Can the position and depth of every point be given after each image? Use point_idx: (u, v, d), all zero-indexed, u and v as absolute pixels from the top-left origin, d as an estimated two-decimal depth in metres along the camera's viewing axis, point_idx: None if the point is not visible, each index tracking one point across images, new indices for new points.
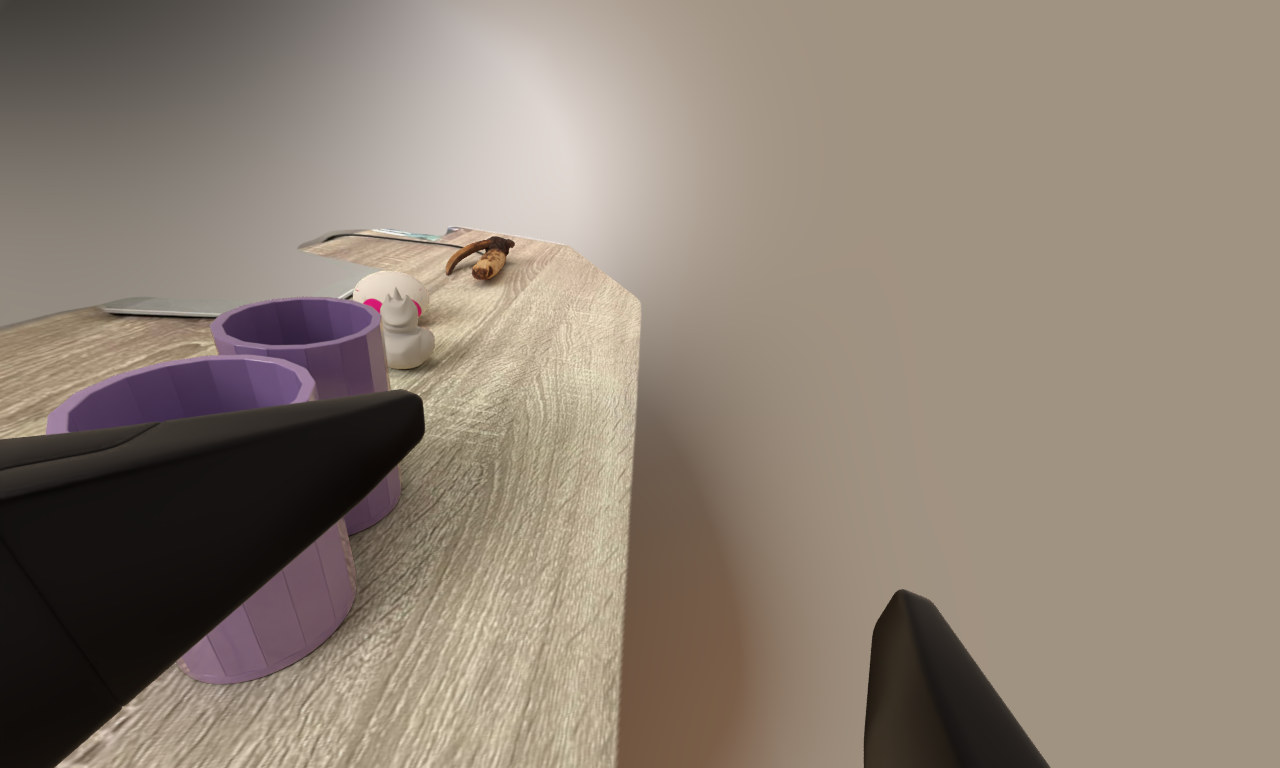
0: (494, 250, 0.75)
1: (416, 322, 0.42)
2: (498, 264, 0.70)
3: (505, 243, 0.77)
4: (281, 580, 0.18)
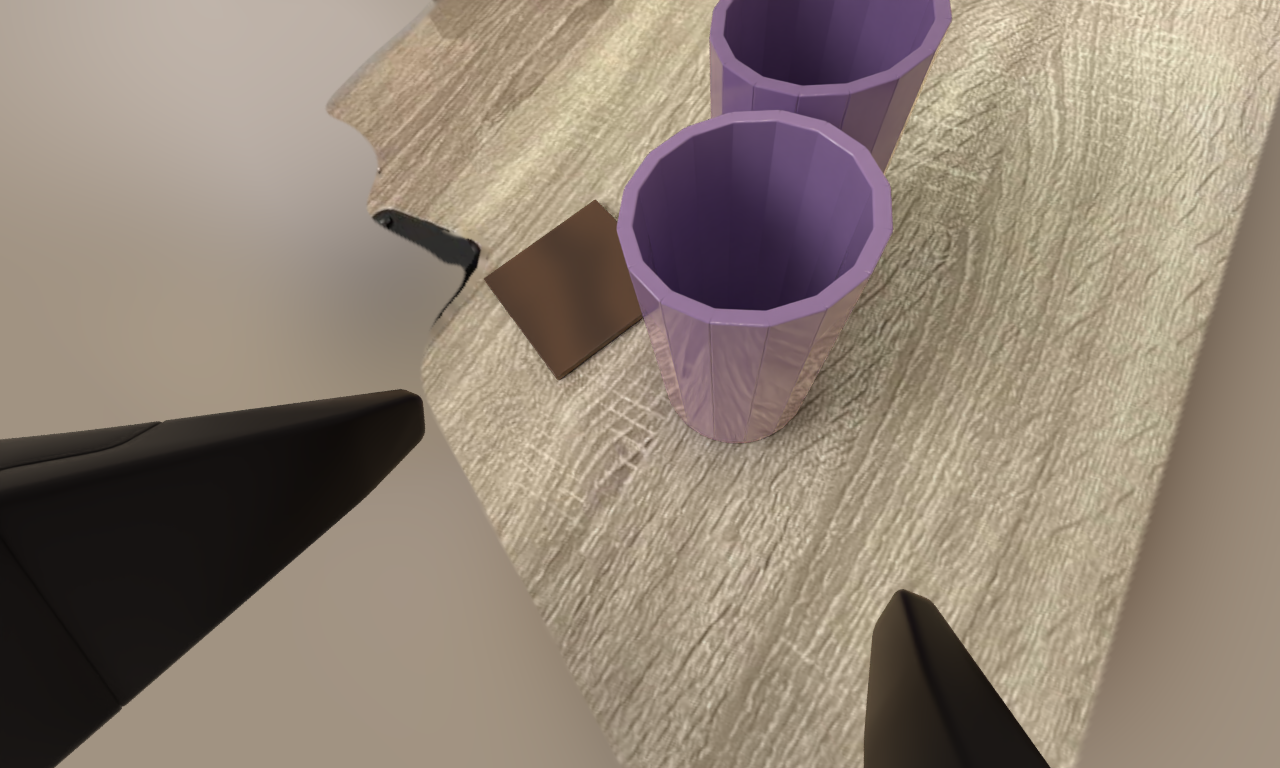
0: None
1: None
2: None
3: None
4: (783, 403, 0.17)
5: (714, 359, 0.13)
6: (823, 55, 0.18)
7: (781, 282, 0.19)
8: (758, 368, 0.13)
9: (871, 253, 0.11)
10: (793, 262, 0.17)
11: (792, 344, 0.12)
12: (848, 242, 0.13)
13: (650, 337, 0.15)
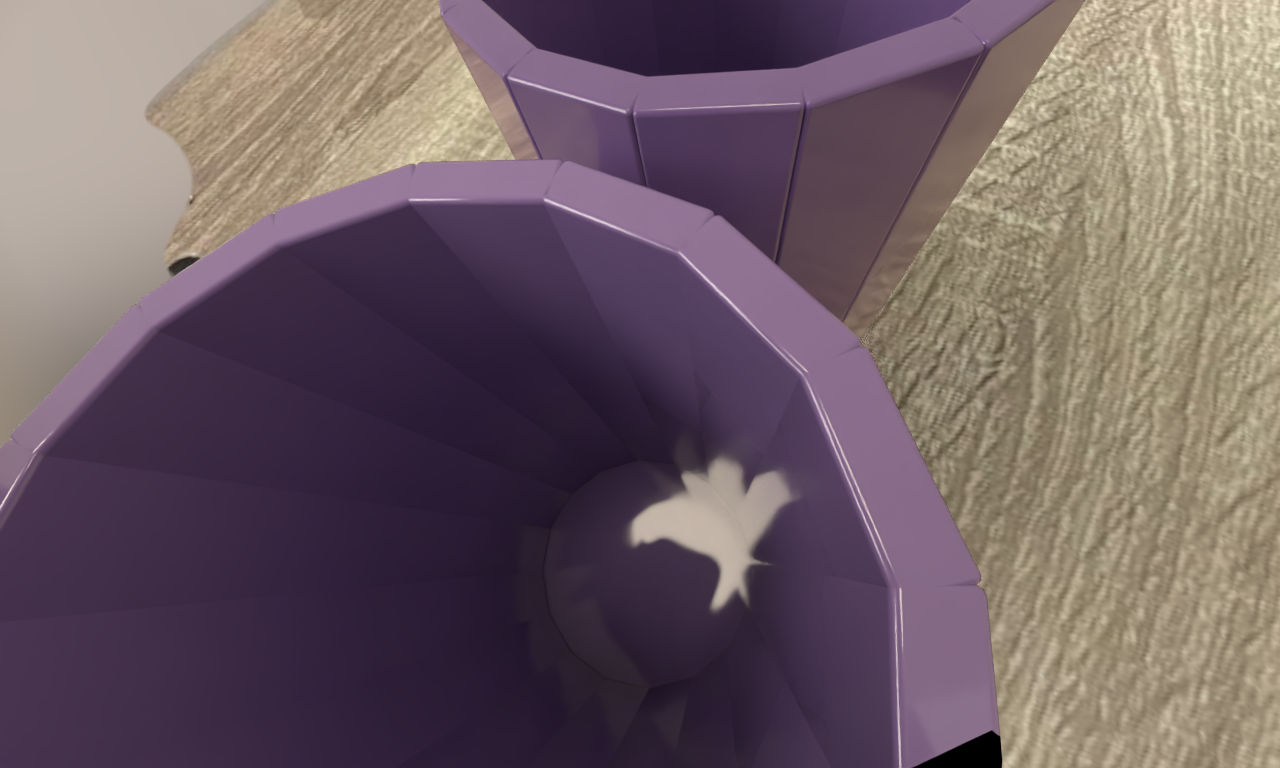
0: None
1: None
2: None
3: None
4: None
5: None
6: (778, 16, 0.09)
7: (702, 457, 0.10)
8: None
9: None
10: (712, 451, 0.08)
11: None
12: (807, 567, 0.04)
13: None
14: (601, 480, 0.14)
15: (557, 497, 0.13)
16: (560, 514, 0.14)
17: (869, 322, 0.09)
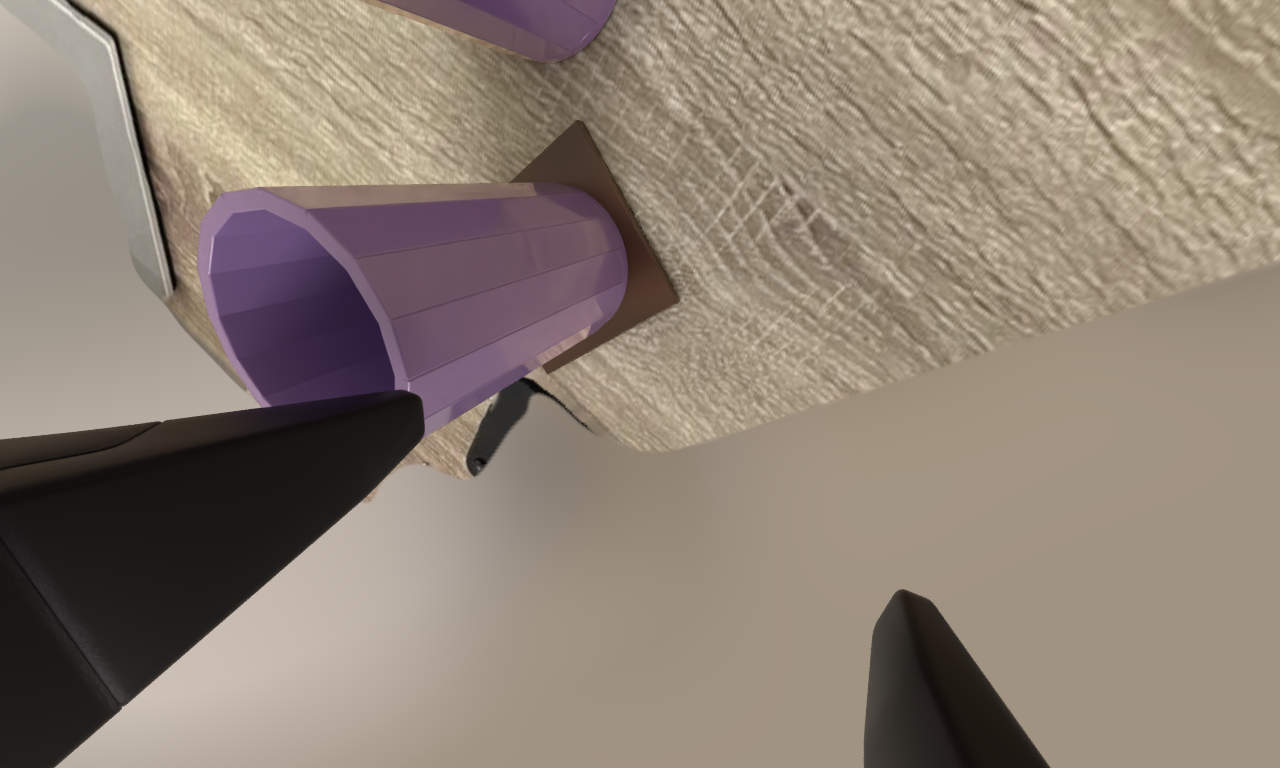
0: None
1: None
2: None
3: None
4: (547, 230, 0.15)
5: (474, 346, 0.12)
6: None
7: None
8: (475, 295, 0.12)
9: (287, 211, 0.09)
10: None
11: (426, 272, 0.10)
12: None
13: (493, 394, 0.15)
14: None
15: None
16: None
17: None
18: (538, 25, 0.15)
